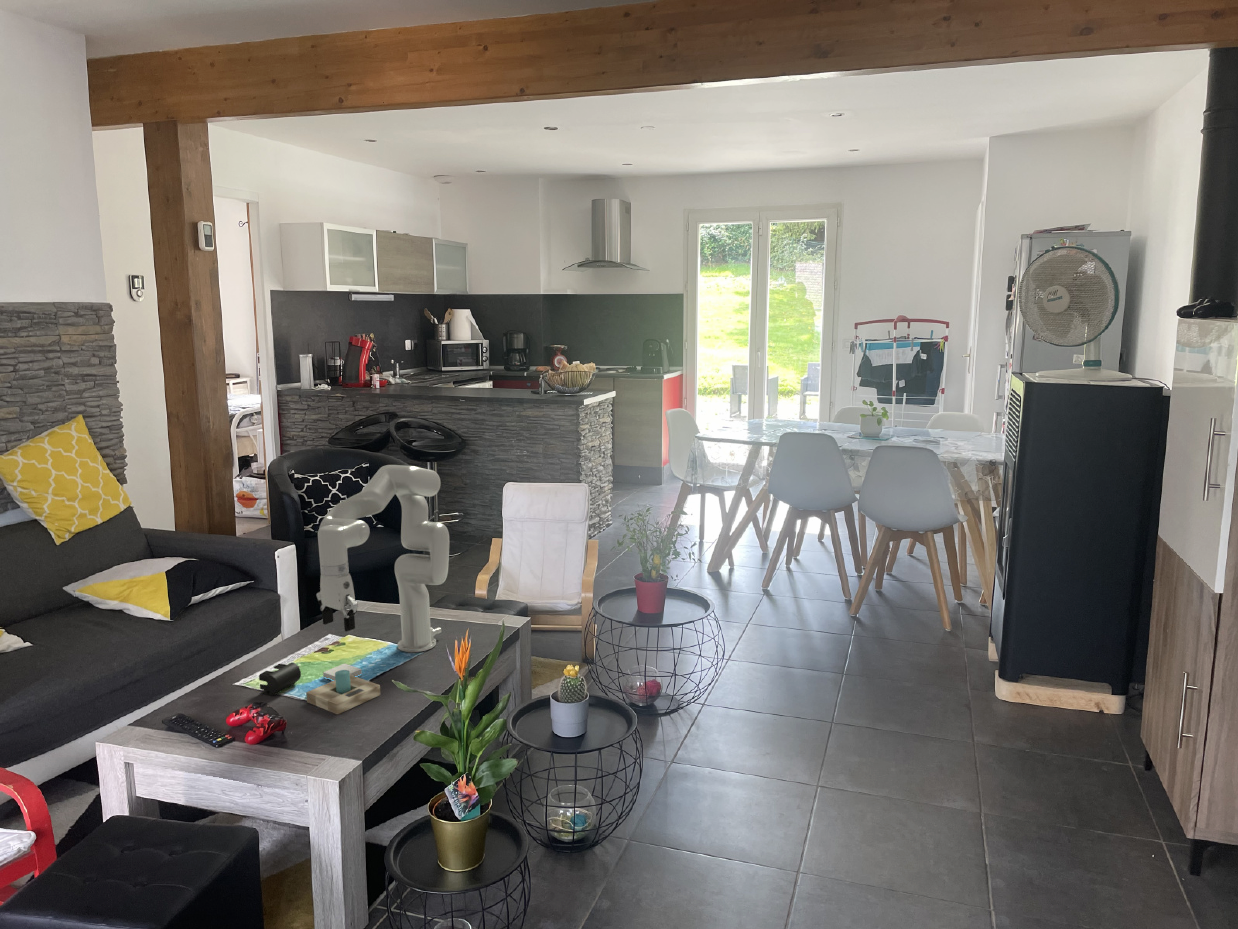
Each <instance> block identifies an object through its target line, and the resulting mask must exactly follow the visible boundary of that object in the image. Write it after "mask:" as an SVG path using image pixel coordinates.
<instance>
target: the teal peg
mask: <svg viewBox="0 0 1238 929" xmlns="http://www.w3.org/2000/svg"><path fill="white" fill-rule="evenodd" d="M335 680H336V693H339V694H341V695H342V694H344V693H346V692H348V691H351V685H350V672H349V671H348V670H340V671H337V672H336V673H335Z"/></svg>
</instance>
